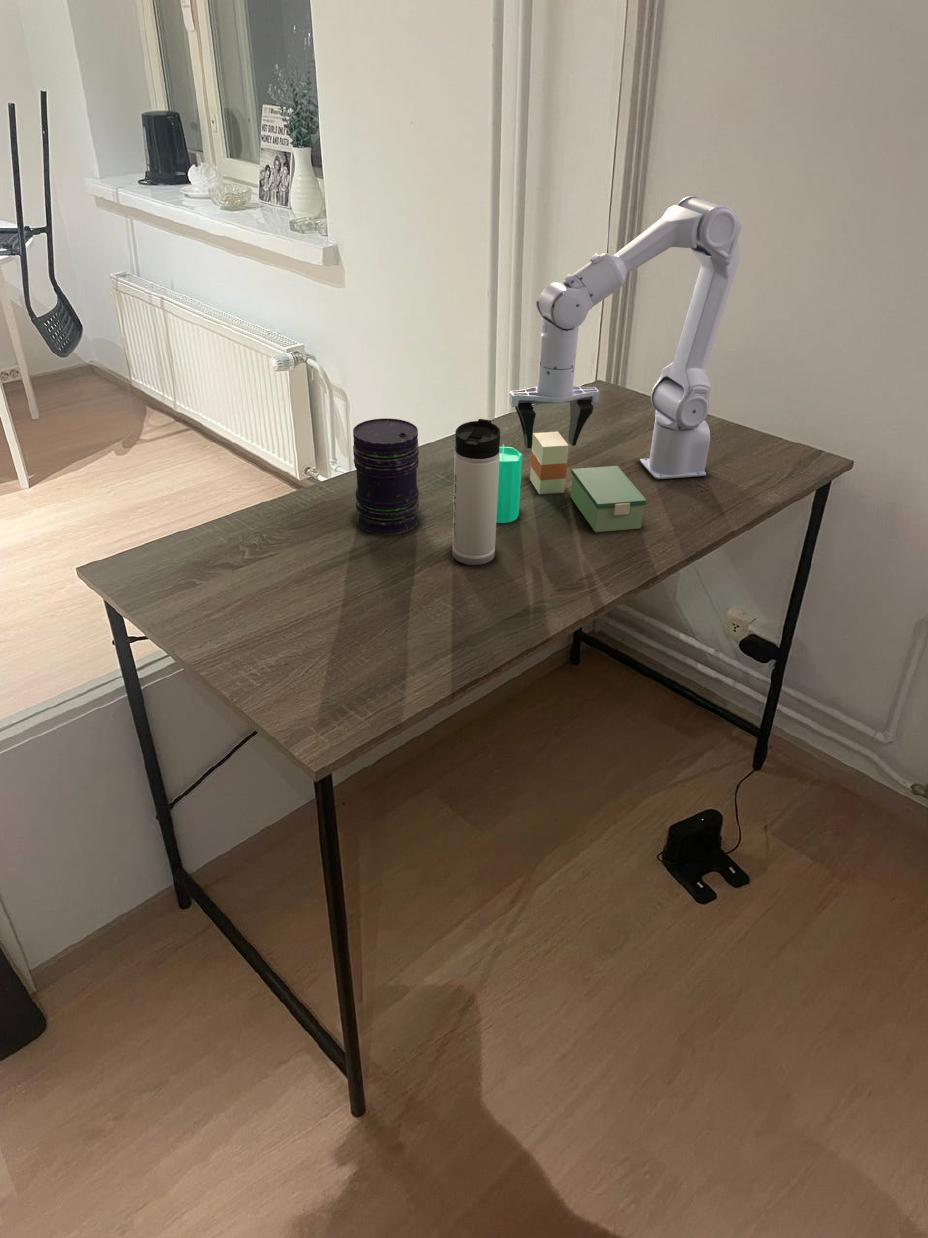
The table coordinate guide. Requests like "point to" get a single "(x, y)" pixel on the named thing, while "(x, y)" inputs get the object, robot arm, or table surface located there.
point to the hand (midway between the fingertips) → (550, 444)
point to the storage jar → (386, 475)
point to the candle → (509, 484)
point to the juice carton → (548, 462)
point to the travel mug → (475, 491)
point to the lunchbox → (607, 498)
